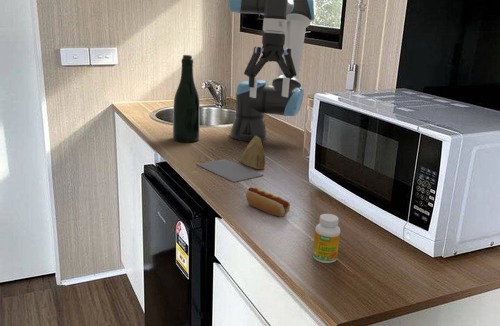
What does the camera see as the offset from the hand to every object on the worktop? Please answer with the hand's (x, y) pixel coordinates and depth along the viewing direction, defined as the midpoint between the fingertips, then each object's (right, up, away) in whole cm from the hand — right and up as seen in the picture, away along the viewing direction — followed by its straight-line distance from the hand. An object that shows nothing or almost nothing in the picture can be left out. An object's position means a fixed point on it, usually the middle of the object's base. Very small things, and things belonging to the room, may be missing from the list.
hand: (269, 97), depth 166 cm
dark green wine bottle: (-32, -13, +28) cm, 45 cm away
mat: (-13, -25, -5) cm, 29 cm away
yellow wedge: (-6, -24, +1) cm, 24 cm away
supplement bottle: (+10, -44, -58) cm, 74 cm away
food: (-2, -35, -35) cm, 50 cm away
